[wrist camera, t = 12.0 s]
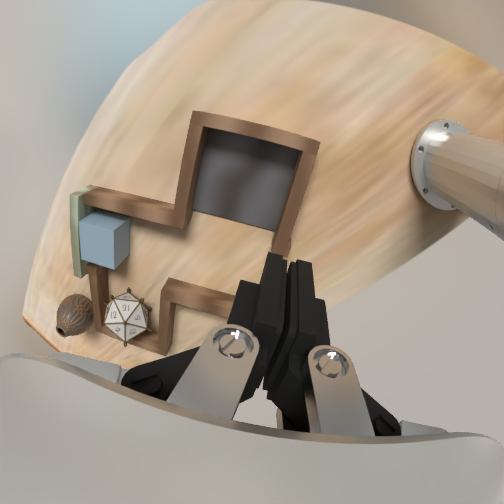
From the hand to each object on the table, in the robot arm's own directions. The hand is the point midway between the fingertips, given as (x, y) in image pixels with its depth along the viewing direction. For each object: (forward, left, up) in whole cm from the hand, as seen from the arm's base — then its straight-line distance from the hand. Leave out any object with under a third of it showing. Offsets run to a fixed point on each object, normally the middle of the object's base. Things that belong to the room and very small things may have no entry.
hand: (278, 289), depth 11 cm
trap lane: (+10, +14, -25) cm, 30 cm away
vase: (+28, +31, -25) cm, 49 cm away
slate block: (+21, +14, -25) cm, 35 cm away
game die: (+17, +26, -25) cm, 39 cm away
